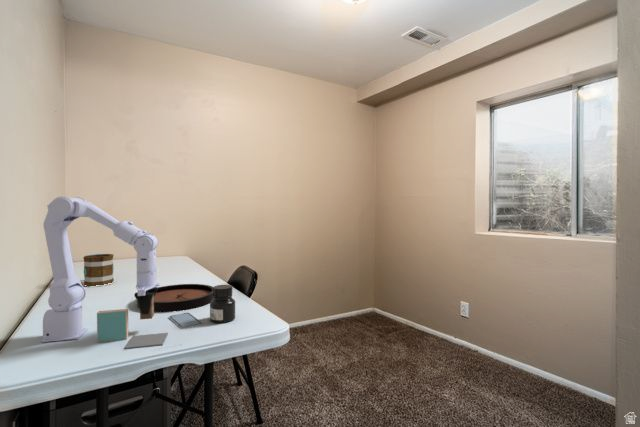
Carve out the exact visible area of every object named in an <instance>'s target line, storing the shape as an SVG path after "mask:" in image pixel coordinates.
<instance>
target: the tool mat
mask: <svg viewBox="0 0 640 427" xmlns="http://www.w3.org/2000/svg"><path fill="white" fill-rule="evenodd" d="M168 334H169V333H168V332H161V333H151V334H138V335H133V336H132V337H131V338H130V340H129V341H128V342H127V343H126V345H125V347H124V349H125V350H130V349H131V350H132V349H139V348H148V347H157V346H163V345H164V343H165V341H166V338H167V337H168Z"/></svg>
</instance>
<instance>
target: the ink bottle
mask: <svg viewBox="0 0 640 427" xmlns="http://www.w3.org/2000/svg"><path fill="white" fill-rule="evenodd" d="M212 287H213V298H214V299H213V300H212V301H211V302H210V304H209V320H210V321H211V322H212V323H216V324H224V323H225V324H226V323H229V322H232V321H234V320H235V319H236V300H235V299H234V298H233V285H231V284H218V285H215V286H212Z"/></svg>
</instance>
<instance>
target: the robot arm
mask: <svg viewBox="0 0 640 427" xmlns="http://www.w3.org/2000/svg"><path fill="white" fill-rule="evenodd" d="M79 218H89V219H91V220H93V221H95V222H97V223H99V224H100V225H103V226H104V227H107V228H109V229H110V230H112V232H113V235H114V237H116V238H118V239H119V240H121V241H123V242H124V243H127V244H128V245H130V246H132V247H133V249H134V250H135V252H136V285H135V288H136V290H137V292H135V293H134V298H135V299H136V302H137V301H138V303H139V307H140V309H139V312H140V311H141V314H149V312H150V306H151V301H152V297H153V295H154V297H155V294H156V292H157V290H158V287H161V282H157V250H156V248H157V247H158V245H159V239H158V238H157V236H156V235H154V234H153V233H147V232H148V231H146V230H145V229H141V228H139V227H138V226H136V225H134V224H135V222H133V221H131V220H130V221H127V220H122V221H119V220H118V219H116V218H115V217H114V216H112V215H111V214H109V213H107V212H106V211H104V210H103V209H101V208H100V207H99V206H97V205H95V204H94V203H93V202H90V201H88V200H85V199H84V198H82V197H80V196H79V197H77V196H76V197H71V196H70V197H67V196H58V197H56V198H54V199H53V200H52V201H51V202H49V204H48V205H47V213H46V215H45V218H44V221H43V230H44V236H45V240H46V246H47V252H48V255H49V256H48V257H49V262H50V267H51V272H52V278H53V282H52V283H51V284H50V287H49V297H48V303H47V304H48V306H49V307H50V309H47V310H46V311H45V312H44V314H43V318H42V340H41V342H42V343H47V342H58V341H69V340H77V339H79V338H80V337H81V336H83V335H84V334H85V333H86V332H87V331H88V328H83V303H82V302H83V300H84V299H85V298H86V295H87V292H86V291H87V290H86V288H85V286H84V285H83V284H82V282H81V281H82V280H81V279H80V277H78V276H77V275H76V272H75V267H74V262H73V257H72V251H71V245H70V240H69V235H68V230H67V228H68V227H69V226H70V224H72V223H73V222H74V221H75V220H77V219H79Z"/></svg>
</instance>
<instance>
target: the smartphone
mask: <svg viewBox="0 0 640 427" xmlns="http://www.w3.org/2000/svg"><path fill="white" fill-rule="evenodd" d="M168 318H170V319H169V320H171V321H172V322H173V323H174V324H175V325H177V327H178V328H180V329H182V330H185V329H188V328H189V329H190V328H192V327H198V326H201V325H203V322H202V321H200V319H198V318H197V317H196V316H194V315H193V314H192V313H191V312H183V313H178V314H172V315H169V316H168Z"/></svg>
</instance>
